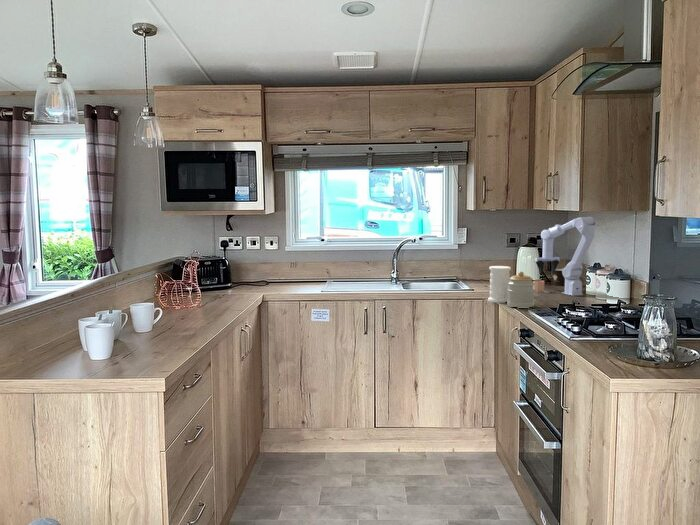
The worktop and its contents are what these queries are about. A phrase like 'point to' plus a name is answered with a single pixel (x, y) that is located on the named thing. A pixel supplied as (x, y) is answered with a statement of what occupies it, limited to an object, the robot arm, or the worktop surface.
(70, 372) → the worktop surface
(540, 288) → the pot terracotta
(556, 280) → the coffee mug
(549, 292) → the coaster
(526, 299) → the jar
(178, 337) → the worktop surface
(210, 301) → the worktop surface
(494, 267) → the decorative container
